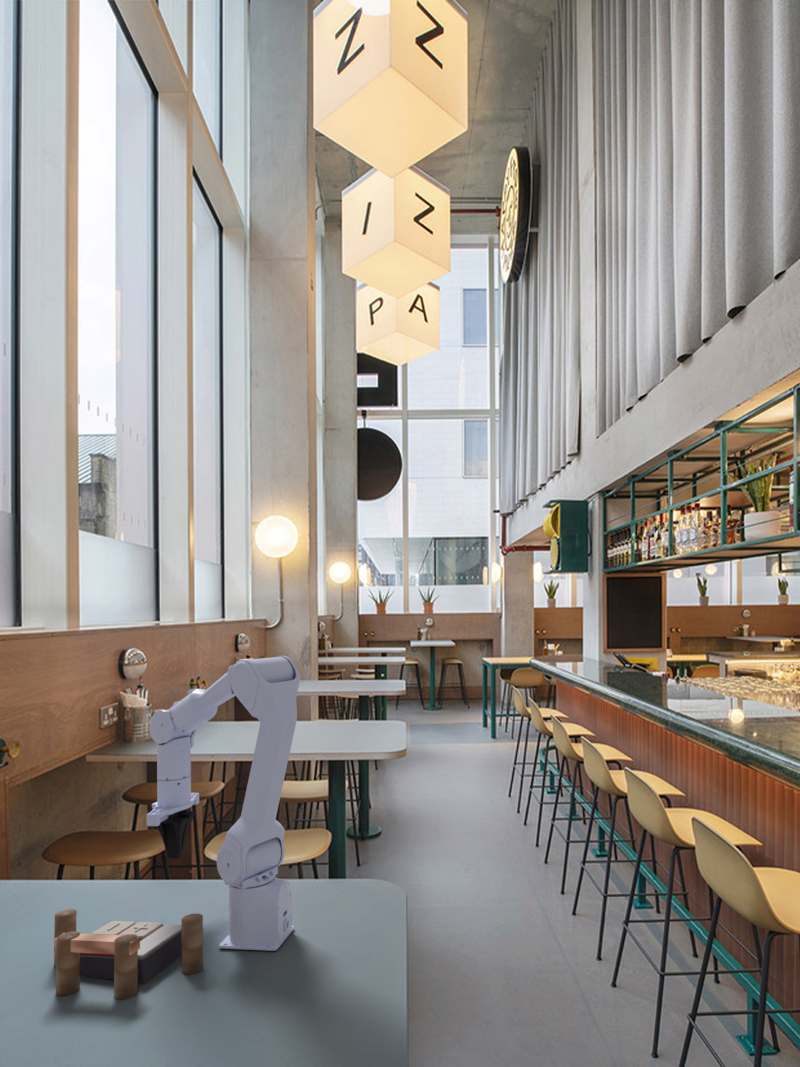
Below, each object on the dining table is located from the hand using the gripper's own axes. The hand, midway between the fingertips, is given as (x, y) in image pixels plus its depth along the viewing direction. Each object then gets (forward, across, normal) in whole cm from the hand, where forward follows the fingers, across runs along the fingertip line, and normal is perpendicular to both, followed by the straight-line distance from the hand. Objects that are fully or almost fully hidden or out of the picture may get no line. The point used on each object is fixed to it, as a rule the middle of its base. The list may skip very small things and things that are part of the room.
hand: (174, 857), depth 121 cm
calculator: (+10, +16, +1) cm, 19 cm away
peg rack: (+9, +22, +3) cm, 24 cm away
